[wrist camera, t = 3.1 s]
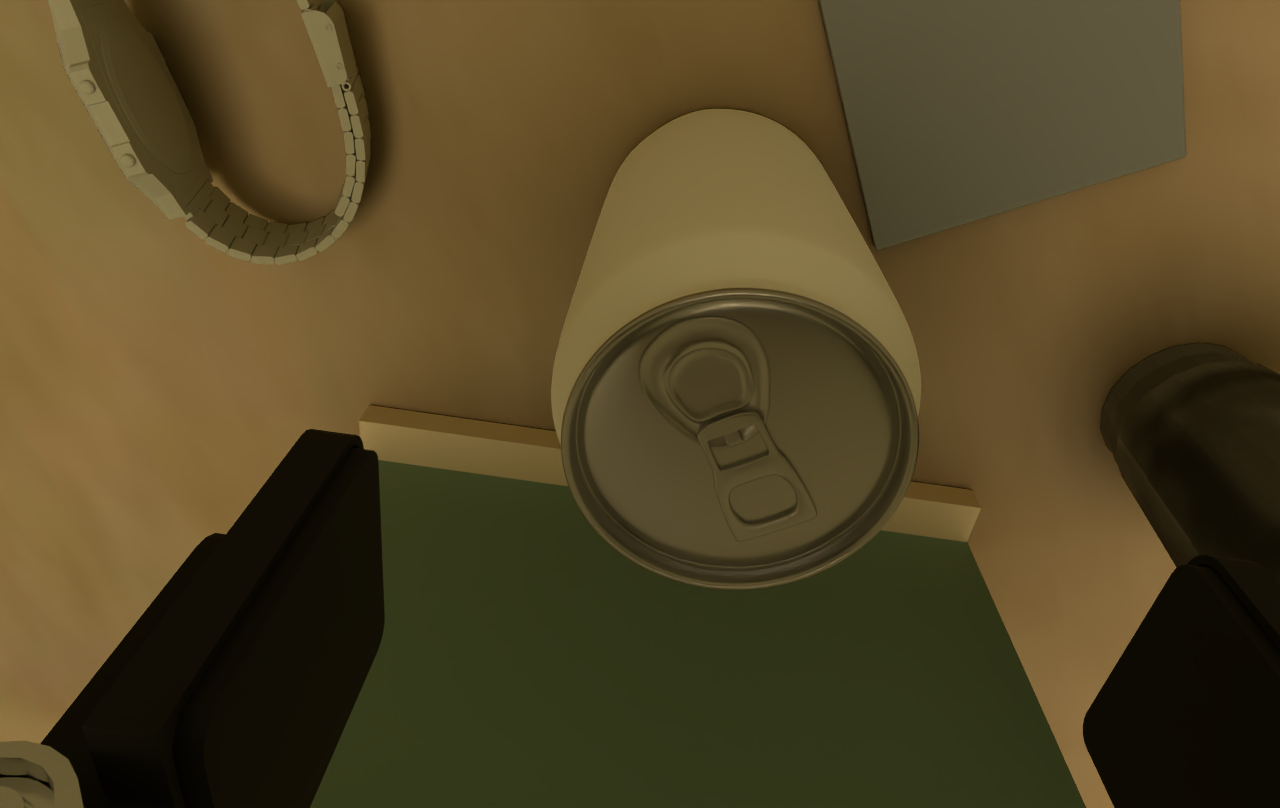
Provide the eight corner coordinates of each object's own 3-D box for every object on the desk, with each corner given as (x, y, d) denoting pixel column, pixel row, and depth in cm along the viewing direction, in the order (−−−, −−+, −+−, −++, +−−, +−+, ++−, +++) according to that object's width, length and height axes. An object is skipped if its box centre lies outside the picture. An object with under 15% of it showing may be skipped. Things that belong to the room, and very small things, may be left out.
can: (786, 61, 21) (875, 185, 11) (864, 279, 24) (994, 544, 14) (564, 166, 23) (456, 361, 12) (660, 359, 26) (638, 649, 15)
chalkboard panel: (972, 489, 27) (1203, 952, 15) (935, 580, 29) (1111, 1055, 17) (369, 405, 27) (95, 804, 15) (373, 502, 29) (134, 927, 17)
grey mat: (873, 245, 23) (877, 250, 23) (804, -59, 20) (806, -59, 20) (1178, 153, 22) (1186, 156, 21) (1162, -198, 18) (1172, -201, 18)
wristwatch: (76, -101, 20) (-90, -109, 16) (311, -163, 20) (202, -190, 15) (234, 249, 25) (137, 316, 21) (433, 211, 24) (375, 273, 20)
